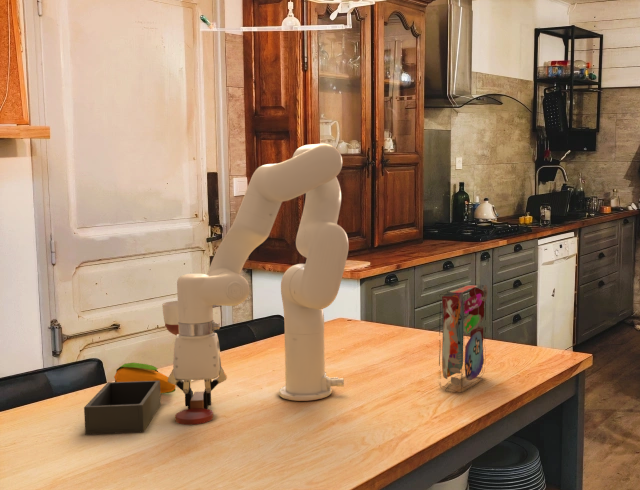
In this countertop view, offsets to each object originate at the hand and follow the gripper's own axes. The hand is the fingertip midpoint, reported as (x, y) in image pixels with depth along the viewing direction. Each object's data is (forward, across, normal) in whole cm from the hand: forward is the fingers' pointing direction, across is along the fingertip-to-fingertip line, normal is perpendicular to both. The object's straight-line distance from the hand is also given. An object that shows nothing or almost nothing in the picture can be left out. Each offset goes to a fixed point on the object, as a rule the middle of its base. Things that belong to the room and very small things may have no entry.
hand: (198, 408), depth 176 cm
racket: (0, 0, +3) cm, 3 cm away
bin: (0, +15, +4) cm, 16 cm away
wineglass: (+1, +8, -28) cm, 29 cm away
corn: (+1, +14, -14) cm, 20 cm away
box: (+1, -66, -16) cm, 68 cm away
